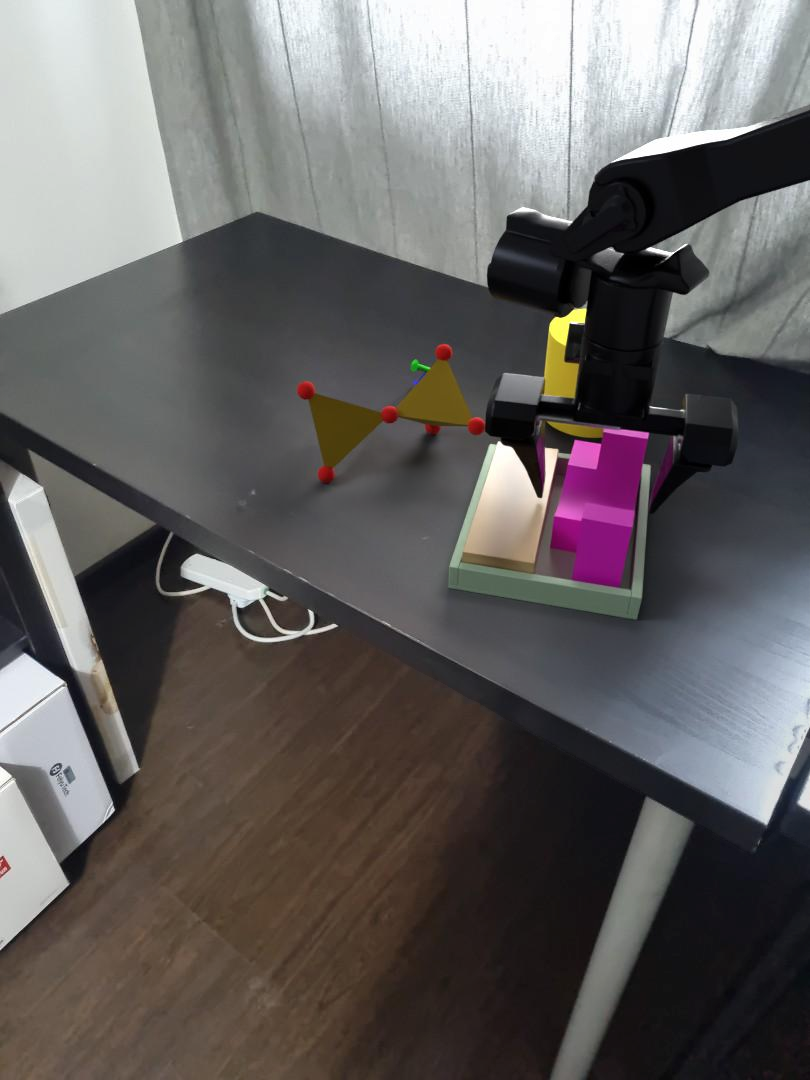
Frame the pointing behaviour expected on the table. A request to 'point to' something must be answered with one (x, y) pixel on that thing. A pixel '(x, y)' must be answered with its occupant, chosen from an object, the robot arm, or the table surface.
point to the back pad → (510, 514)
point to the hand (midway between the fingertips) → (594, 502)
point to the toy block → (600, 505)
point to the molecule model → (389, 412)
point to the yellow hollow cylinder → (564, 371)
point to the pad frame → (558, 561)
